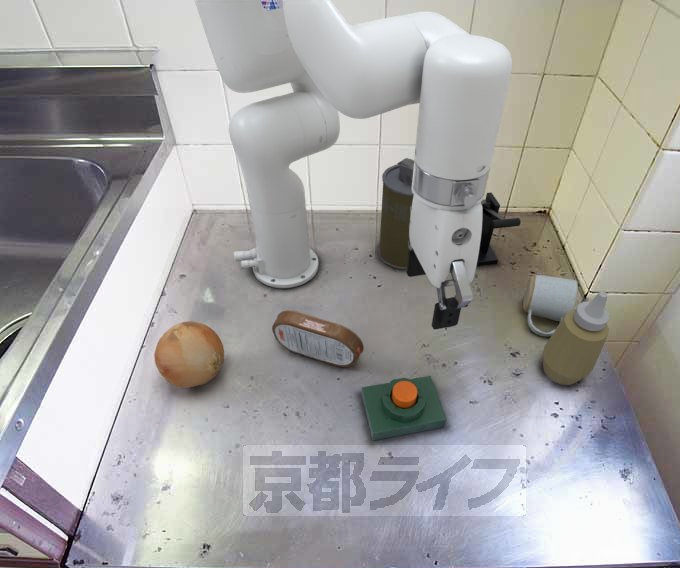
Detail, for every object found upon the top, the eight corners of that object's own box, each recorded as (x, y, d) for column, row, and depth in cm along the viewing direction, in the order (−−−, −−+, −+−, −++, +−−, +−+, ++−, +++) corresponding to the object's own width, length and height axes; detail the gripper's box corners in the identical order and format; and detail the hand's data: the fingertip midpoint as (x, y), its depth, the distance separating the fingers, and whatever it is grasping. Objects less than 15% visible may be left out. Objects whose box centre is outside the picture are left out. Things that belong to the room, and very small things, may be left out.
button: (395, 410, 68) (396, 403, 66) (389, 389, 70) (390, 382, 69) (419, 405, 68) (420, 399, 67) (412, 385, 71) (413, 379, 69)
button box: (372, 440, 68) (373, 426, 65) (361, 395, 73) (362, 380, 70) (444, 427, 70) (448, 413, 67) (428, 383, 76) (431, 368, 73)
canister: (367, 253, 96) (370, 163, 82) (399, 231, 102) (408, 143, 87) (408, 278, 92) (420, 188, 77) (440, 253, 98) (456, 165, 83)
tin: (363, 361, 78) (365, 328, 72) (356, 376, 76) (357, 343, 70) (281, 336, 81) (275, 301, 74) (272, 349, 78) (266, 315, 72)
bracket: (496, 264, 96) (512, 211, 87) (460, 268, 95) (472, 215, 85) (480, 237, 102) (494, 185, 93) (446, 241, 101) (456, 188, 91)
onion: (216, 404, 71) (200, 364, 63) (153, 394, 72) (130, 353, 64) (239, 355, 77) (227, 313, 70) (181, 345, 78) (164, 303, 71)
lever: (519, 229, 82) (521, 216, 81) (493, 232, 81) (494, 219, 80) (490, 210, 93) (491, 198, 91) (466, 213, 92) (467, 200, 90)
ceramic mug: (522, 293, 91) (533, 263, 85) (565, 302, 90) (580, 272, 84) (518, 333, 84) (530, 303, 78) (564, 343, 83) (580, 314, 77)
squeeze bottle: (587, 396, 75) (638, 320, 62) (536, 386, 76) (575, 309, 63) (583, 357, 81) (629, 280, 68) (535, 348, 82) (571, 270, 68)
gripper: (522, 222, 43) (485, 343, 55) (452, 135, 54) (434, 252, 67) (446, 233, 41) (425, 355, 54) (389, 141, 53) (383, 260, 65)
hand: (430, 298), depth 60 cm, fingers open, 9 cm apart
